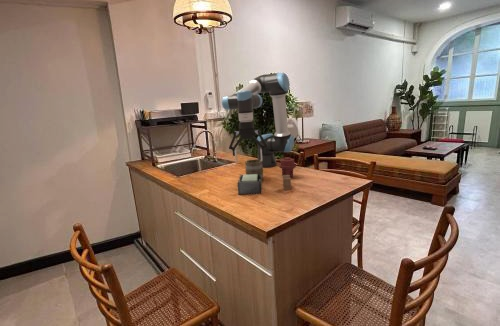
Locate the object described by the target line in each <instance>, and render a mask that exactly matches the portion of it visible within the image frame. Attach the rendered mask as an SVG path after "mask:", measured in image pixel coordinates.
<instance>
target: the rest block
mask: <svg viewBox="0 0 500 326" xmlns="http://www.w3.org/2000/svg"><path fill="white" fill-rule="evenodd" d="M282 183H283V184H282V185H283V190H284V191H290V190H292V178H290V175H283V176H282Z"/></svg>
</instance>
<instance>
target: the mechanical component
mask: <svg viewBox="0 0 500 326" xmlns="http://www.w3.org/2000/svg"><path fill="white" fill-rule="evenodd" d="M278 167H279V169H281V171H282V172H281V176H282V177H283V175H290V178H291V179H292V178H294V169H295V168H296V163H295V158H291V157H289V156H288V157H287V156H286V157H284V158H281V159H280V164H279V165H278Z"/></svg>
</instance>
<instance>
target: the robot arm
mask: <svg viewBox="0 0 500 326" xmlns="http://www.w3.org/2000/svg"><path fill="white" fill-rule="evenodd" d="M290 84H291V83H290V80H289V77H288V75H287V73H286V72H285V73H284V72H276V73H266V74H261V75H259V76H257V77H255V78H253V79H251V80H249V81H248V84H247V85H245V86H243V87H242V88H241V89H239V90H237V91H236V92H235V93H233V94H231V95H227V96H223V97H222V99H221V104H222V108H223V109H224V110H229V111H231V110H238V111H237V113H238V121H239V122H238V125H239V131H236V130H234V131H233V136H232V139H231V141H230V144H229V147H228V149H229V150H232V156H233V157H234V162H235V163H238V153H237V152H238V151H237V149H236V148H237V147H238V145H239V144H240V143H241V141H242V140H250V139H252V140H253V141H254V142H256V144H257V159H256V160H261V161H263V163H262V167H263V168H264V169H265V168H273V167H276V166H277V163H278V162H277V160H276V157H275V153H290V152H292V150H293V149H294V145H295V137H294V135H291V133H292V132H291V131H289V126H288V125H289V124H288V123H289V122H288V113H287V104H286V103H287V102H286V96H287V95H288V91H289V90H290V86H291V85H290ZM264 93H266V94H267V93H269V97H270V98H271V99H272V100H271V101H272V107H273V117H274V118H273V119H274V126H275V128H274V129H275V132H274V134H273V133H265V134H261V130H260V129H257V130H255V125H254V110H253V109H259V108H260V107H261V106H262V104H263V97H262V96H261V95H260V94H264ZM255 134H256V135H258V136H257V137H256V136H255ZM238 135H240V138H239V139H238V140H237V141H236V143H235V140H236V137H237V136H238ZM234 143H235V144H234ZM233 145H234V146H233Z"/></svg>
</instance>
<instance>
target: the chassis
mask: <svg viewBox="0 0 500 326" xmlns="http://www.w3.org/2000/svg"><path fill="white" fill-rule="evenodd" d="M243 175H244V174H240V175H239V179H238V180H237V183H236V185H237V194H238V196H243V195H246V196H249V195H262V189H263V188H262V187H263V186H262V184H263V183H262V182H263V181H261V174H258V180H257V182H242V178H243ZM248 175H249V174H248Z"/></svg>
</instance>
